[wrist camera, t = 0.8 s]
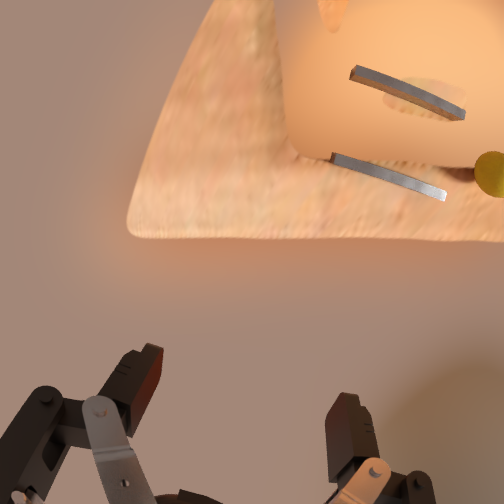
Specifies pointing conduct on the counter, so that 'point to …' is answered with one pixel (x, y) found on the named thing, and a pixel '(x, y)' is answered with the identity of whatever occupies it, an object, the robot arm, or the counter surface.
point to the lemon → (490, 173)
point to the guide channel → (408, 94)
